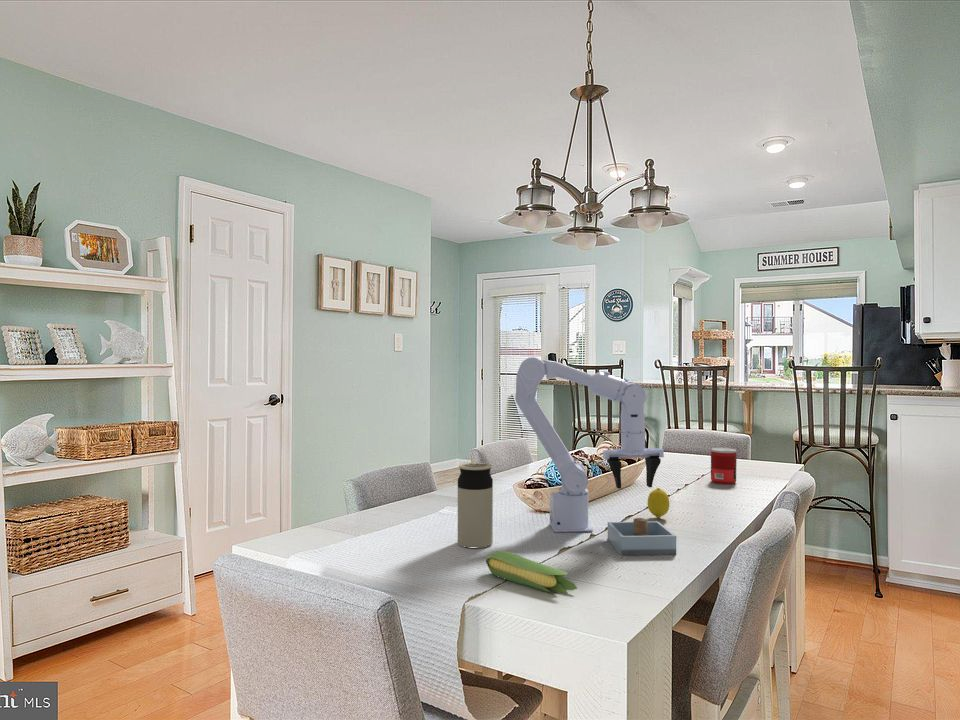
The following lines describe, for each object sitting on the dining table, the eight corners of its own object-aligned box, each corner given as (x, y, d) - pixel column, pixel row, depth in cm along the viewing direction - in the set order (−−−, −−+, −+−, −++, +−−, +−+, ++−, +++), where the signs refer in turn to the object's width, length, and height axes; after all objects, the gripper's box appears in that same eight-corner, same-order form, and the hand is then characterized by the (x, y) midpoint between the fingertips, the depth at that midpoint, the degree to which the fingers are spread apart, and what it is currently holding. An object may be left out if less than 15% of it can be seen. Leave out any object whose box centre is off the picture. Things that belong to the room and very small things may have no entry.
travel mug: (497, 547, 146) (497, 467, 146) (462, 550, 144) (462, 468, 144) (486, 537, 154) (486, 461, 154) (453, 540, 152) (453, 462, 151)
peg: (634, 548, 146) (634, 521, 146) (632, 544, 149) (632, 517, 149) (648, 548, 146) (648, 521, 145) (646, 544, 149) (646, 518, 148)
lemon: (670, 521, 168) (670, 490, 168) (647, 520, 169) (648, 489, 169) (668, 516, 174) (668, 486, 174) (646, 515, 175) (647, 485, 175)
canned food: (739, 484, 215) (740, 451, 214) (715, 484, 215) (715, 451, 215) (731, 480, 222) (731, 447, 222) (707, 479, 222) (707, 447, 222)
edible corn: (498, 547, 133) (484, 546, 129) (581, 573, 119) (568, 572, 116) (493, 573, 132) (478, 572, 128) (576, 602, 118) (562, 602, 115)
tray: (621, 555, 141) (621, 536, 141) (607, 539, 153) (607, 522, 153) (676, 554, 141) (676, 536, 141) (658, 538, 153) (658, 521, 153)
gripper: (607, 434, 156) (608, 491, 156) (667, 433, 157) (668, 489, 157) (600, 431, 163) (601, 485, 164) (657, 429, 164) (658, 483, 164)
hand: (633, 487), depth 161 cm, fingers open, 7 cm apart
